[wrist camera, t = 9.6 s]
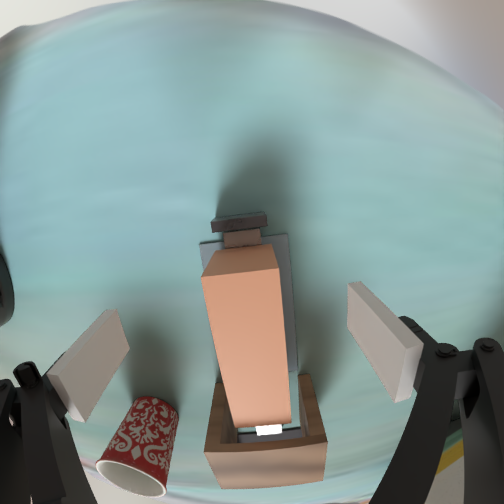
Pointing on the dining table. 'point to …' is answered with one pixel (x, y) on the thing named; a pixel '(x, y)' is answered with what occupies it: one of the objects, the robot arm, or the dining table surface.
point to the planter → (450, 470)
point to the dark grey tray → (269, 436)
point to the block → (249, 333)
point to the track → (244, 240)
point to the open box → (266, 447)
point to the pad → (283, 262)
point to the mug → (141, 449)
